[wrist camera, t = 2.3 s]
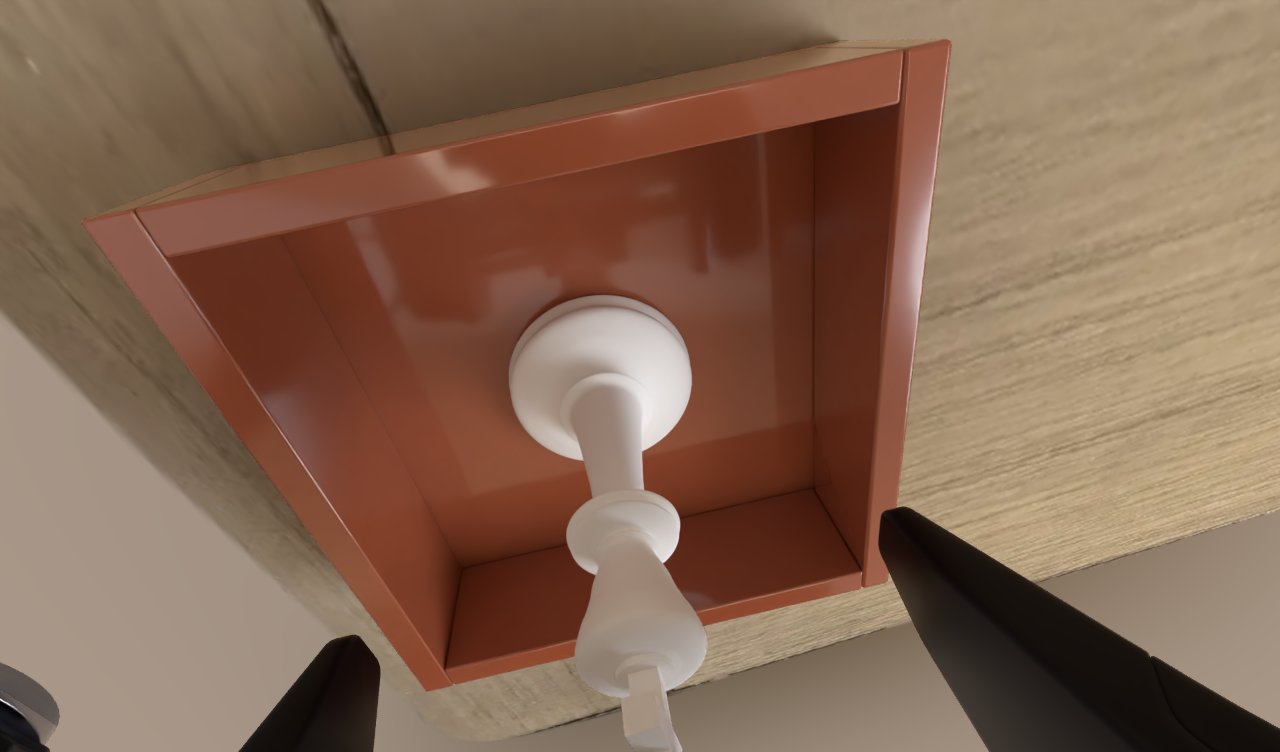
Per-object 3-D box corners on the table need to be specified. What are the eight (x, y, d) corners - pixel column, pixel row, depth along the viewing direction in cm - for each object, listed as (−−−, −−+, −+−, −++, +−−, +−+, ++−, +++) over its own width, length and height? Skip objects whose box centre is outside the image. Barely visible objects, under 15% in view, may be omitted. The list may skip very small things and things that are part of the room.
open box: (447, 580, 18) (425, 692, 15) (212, 170, 11) (77, 220, 8) (831, 492, 19) (889, 583, 16) (843, 39, 12) (955, 37, 8)
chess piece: (546, 468, 16) (540, 931, 8) (478, 326, 14) (356, 795, 5) (704, 421, 16) (874, 837, 8) (667, 269, 13) (864, 649, 5)
